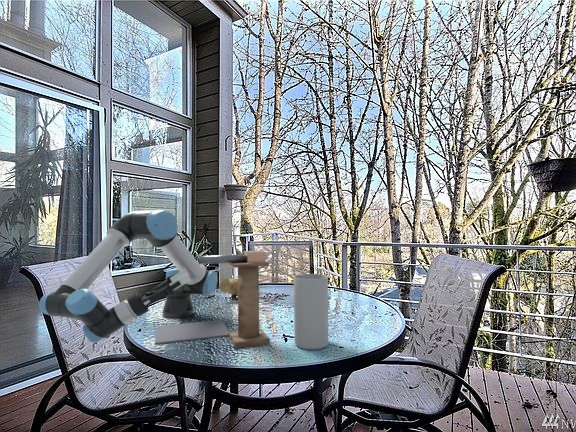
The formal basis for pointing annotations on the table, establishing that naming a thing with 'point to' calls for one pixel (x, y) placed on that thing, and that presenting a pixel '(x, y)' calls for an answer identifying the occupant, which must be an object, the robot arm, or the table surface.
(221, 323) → the rubber mat
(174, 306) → the robot arm
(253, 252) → the wooden mallet
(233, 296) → the decorative spool
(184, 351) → the table surface
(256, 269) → the bobbin stand
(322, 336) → the cylinder vase
